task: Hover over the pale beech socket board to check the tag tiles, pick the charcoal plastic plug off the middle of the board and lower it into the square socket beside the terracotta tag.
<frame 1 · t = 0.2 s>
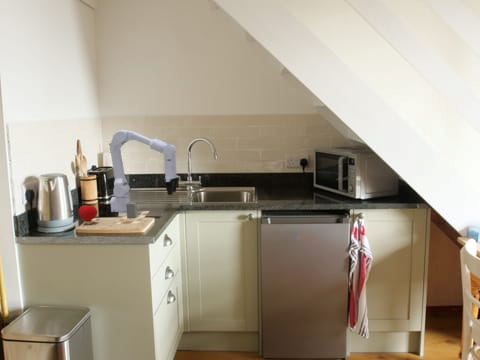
hand: (171, 193, 232), 10 cm above the counter, tool pointing down, fingers open, 7 cm apart
socket board: (132, 220, 217), on the counter
red heart ornament: (89, 226, 208), on the counter
plug: (132, 217, 217), point 1 cm above the counter, touching socket board
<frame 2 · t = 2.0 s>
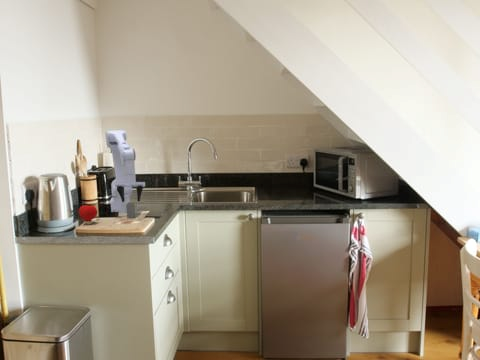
hand: (131, 201, 216), 9 cm above the counter, tool pointing down, fingers open, 7 cm apart
nothing on the counter moved.
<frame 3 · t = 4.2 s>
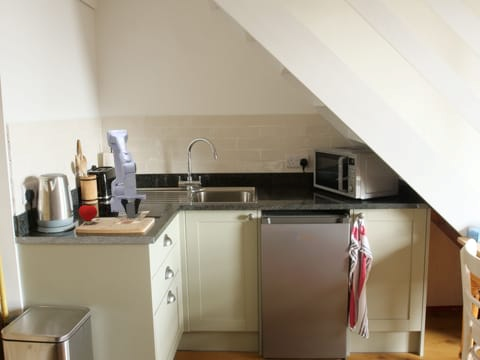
hand: (132, 214, 217), 3 cm above the counter, tool pointing down, fingers closed on plug, 4 cm apart
plug: (132, 217, 217), point 1 cm above the counter, touching gripper, socket board
everything else where it was.
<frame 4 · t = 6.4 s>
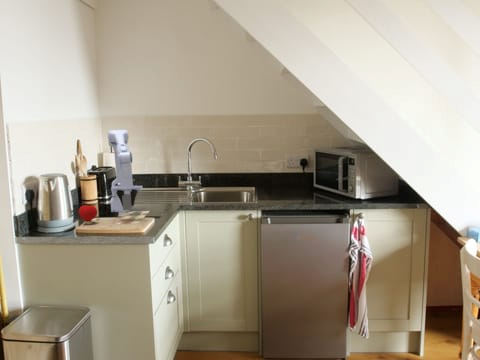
hand: (128, 205, 210), 9 cm above the counter, tool pointing down, fingers closed on plug, 4 cm apart
plug: (128, 209, 211), point 7 cm above the counter, touching gripper
everything else where it was.
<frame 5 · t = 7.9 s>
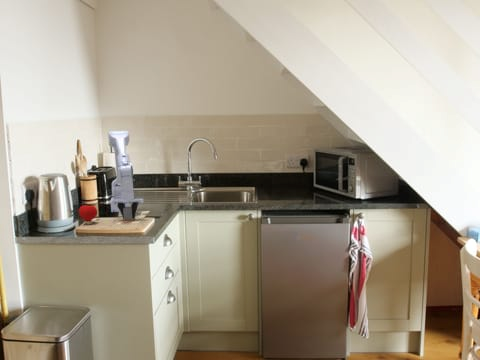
hand: (129, 218, 211), 2 cm above the counter, tool pointing down, fingers closed on plug, 4 cm apart
plug: (129, 221, 212), point 1 cm above the counter, touching gripper
everything else where it was.
when the fingers open (2 cm above the counter, at t = 8.8 s): plug stays where it is, resting in socket board.
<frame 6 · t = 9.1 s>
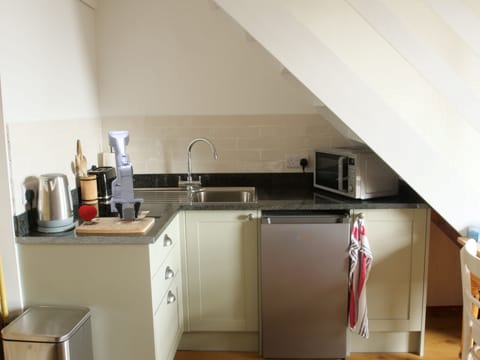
hand: (129, 218, 211), 2 cm above the counter, tool pointing down, fingers open, 6 cm apart
plug: (129, 223, 212), resting in socket board
everything else where it was.
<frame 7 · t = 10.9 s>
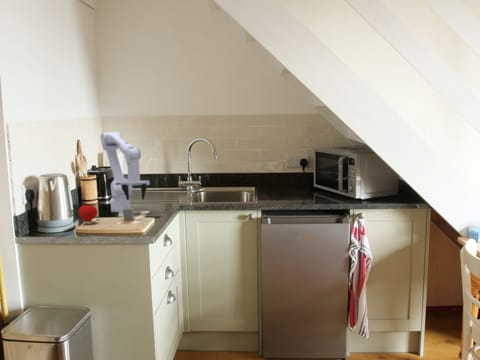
hand: (135, 199, 221), 9 cm above the counter, tool pointing down, fingers open, 7 cm apart
nothing on the counter moved.
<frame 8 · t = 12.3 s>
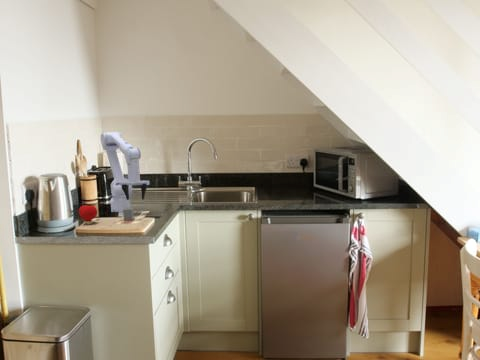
hand: (135, 199, 221), 9 cm above the counter, tool pointing down, fingers open, 7 cm apart
nothing on the counter moved.
at the end: plug 0.1 cm from the target spot on the socket board, point 0.0 cm above the socket board's base; plug tilted 0°; the gripper is holding nothing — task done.
